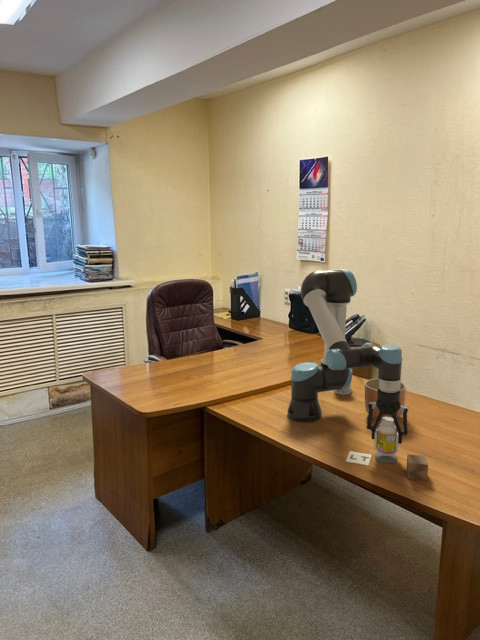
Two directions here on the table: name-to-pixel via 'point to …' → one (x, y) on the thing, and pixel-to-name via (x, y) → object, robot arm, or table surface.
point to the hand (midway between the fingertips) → (386, 449)
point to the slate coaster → (385, 458)
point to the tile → (359, 458)
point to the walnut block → (417, 467)
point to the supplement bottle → (386, 437)
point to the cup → (344, 390)
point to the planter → (372, 395)
